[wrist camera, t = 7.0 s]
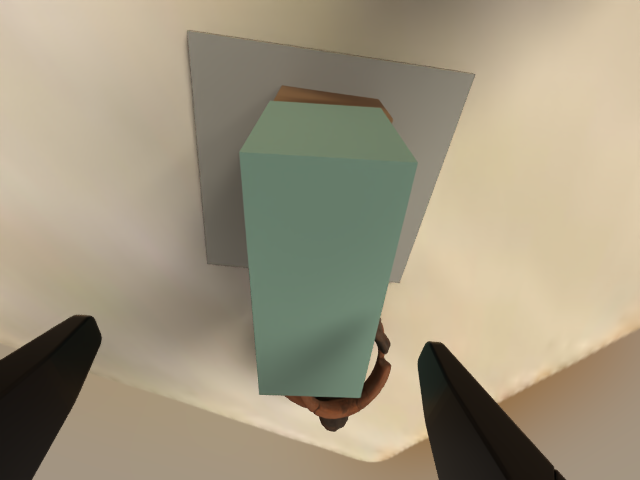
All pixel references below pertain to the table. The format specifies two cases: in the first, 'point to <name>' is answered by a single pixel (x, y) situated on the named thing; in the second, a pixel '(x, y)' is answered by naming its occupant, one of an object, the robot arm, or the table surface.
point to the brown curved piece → (339, 408)
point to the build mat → (316, 74)
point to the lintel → (321, 241)
